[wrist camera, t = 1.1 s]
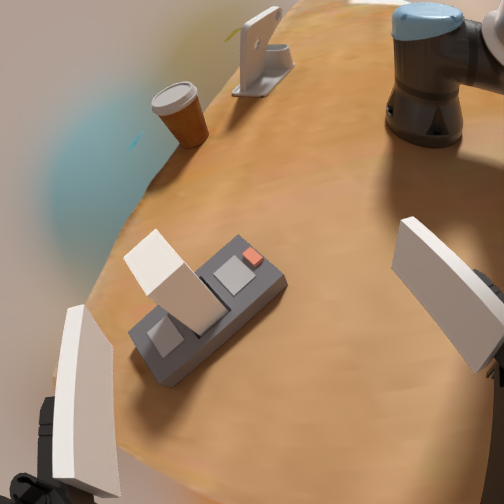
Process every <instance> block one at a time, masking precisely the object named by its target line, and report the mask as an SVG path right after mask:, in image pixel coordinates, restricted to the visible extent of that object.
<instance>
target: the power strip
mask: <svg viewBox="0 0 504 504" xmlns="http://www.w3.org/2000/svg"><path fill="white" fill-rule="evenodd" d="M194 273H195V274H196V275H197V276H198V278H199V279H200V280H201V281H202V282H203V283H204V284H205V285H206V287H207V288H208V289H209V290H210V291H211V292H212V293H213V294H214V296H215V297H216V298H217V299H218V300H219V301H220V302H221V303H222V305H223V306H224V307H225V308H226V309H227V310H228V311H229V313H228V314H227V315H226V316H225V317H224V318H223V319H221V320H220V321H219V322H218V323H217V324H216V325H215V326H214V327H212V328H211V329H210V330H209V331H208V332H207V333H206V334H204V335H203V336H202V337H201V336H200V335H198V334H197V333H196V332H194V331H193V330H191V329H190V328H189V327H187V326H186V325H185V324H183V323H182V322H181V321H179V320H178V319H177V318H175V317H174V316H173V315H171V314H170V313H169V312H167V311H166V310H165V309H163V308H162V307H161V306H159V305H157V306H156V307H155V308H154V309H153V310H152V311H151V312H150V313H148V314H147V315H146V316H145V317H144V318H143V319H142V320H141V321H140V322H139V323H137V324H136V325H135V326H134V327H133V328H132V329H131V330H130V331H129V332H128V334H129V335H130V337H131V339H132V341H133V342H134V344H135V346H136V347H137V349H138V351H139V353H140V354H141V356H142V358H143V359H144V361H145V362H146V364H147V366H148V367H149V369H150V371H151V372H152V374H153V375H154V377H155V378H156V380H157V382H158V383H159V384H160V385H163V386H166V387H169V388H172V387H174V386H175V385H176V384H177V383H178V382H180V381H181V380H182V379H183V378H184V377H185V376H187V375H188V374H189V373H190V372H191V371H193V370H194V369H195V368H196V367H197V366H198V365H200V364H201V363H202V362H203V361H204V360H205V359H206V358H208V357H209V356H210V355H211V354H212V353H213V352H215V351H216V350H217V349H218V348H219V347H220V346H221V345H222V344H224V343H225V342H226V341H227V340H228V339H229V338H230V337H232V336H233V335H234V334H235V333H236V332H237V331H238V330H239V329H240V328H242V327H243V326H244V325H245V324H246V323H247V322H248V321H249V320H250V319H252V318H253V317H254V316H255V315H256V314H257V313H258V312H259V311H260V310H261V309H263V308H264V307H265V306H266V305H267V304H268V303H269V302H270V301H271V300H272V299H273V298H275V297H276V296H277V295H278V294H279V293H280V292H281V291H282V290H283V289H284V288H285V287H286V286H287V285H288V284H287V281H286V279H285V276H284V274H283V273H282V272H281V271H279V270H278V269H277V268H276V267H275V266H274V265H273V264H271V263H270V262H269V261H268V260H267V259H266V258H265V257H264V256H262V255H261V254H260V253H259V252H258V251H257V250H256V249H254V248H253V247H252V246H251V245H250V244H249V243H248V242H246V241H245V240H244V239H243V238H242V237H241V236H240V235H239V234H238V235H237V236H236V237H234V238H233V239H232V240H231V241H230V242H229V243H227V244H226V245H225V246H224V247H223V248H222V249H221V250H219V251H218V252H217V253H216V254H215V255H214V256H213V257H211V258H210V259H209V260H208V261H207V262H206V263H205V264H204V265H202V266H201V267H200V268H199V269H198V270H197V271H196V272H194Z"/></svg>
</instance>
